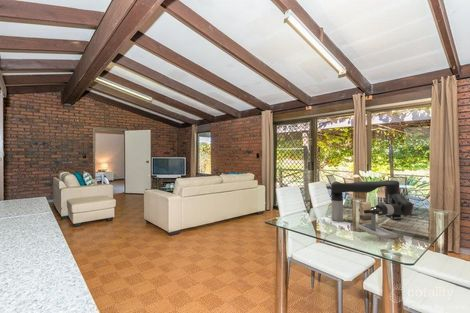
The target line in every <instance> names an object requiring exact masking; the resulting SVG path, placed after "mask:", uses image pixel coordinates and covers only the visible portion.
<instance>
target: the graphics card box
mask: <svg viewBox="0 0 470 313" xmlns="http://www.w3.org/2000/svg"><path fill="white" fill-rule="evenodd" d="M399 194H401V189H400V188H399ZM384 202H385V203H384V204H396V202H395V200H394V199H393V198H392V197H391V196H390V195H389V194H388V193H387V192H386V186H384ZM385 216H386V217H388V219H389V218H390V219H391V220H393V221H401V220H402V219H401V218H402V217H401V216H402V215H398V214H391V215H385Z"/></svg>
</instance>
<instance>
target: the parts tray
mask: <svg viewBox="0 0 470 313" xmlns="http://www.w3.org/2000/svg"><path fill="white" fill-rule="evenodd" d="M357 227H358V229H360V230H362V231H364V232H366V233H368V234H371V235H373V236H375V237H377V238H379V239H383V240H384V239H393V238H395V239H396V238H398V237H399V236H398V234H397V233H394V232H392V231H390V230H389V229H388V230H387V229H385V228H382V227H381V226H377V225H376V230H370V229H367V228H365V224H357Z"/></svg>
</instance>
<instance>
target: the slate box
mask: <svg viewBox="0 0 470 313" xmlns="http://www.w3.org/2000/svg"><path fill="white" fill-rule="evenodd" d="M376 220H377V214H371V224H365V228H367V229H370V230H376V226H377V225H376V224H377V221H376Z"/></svg>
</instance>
